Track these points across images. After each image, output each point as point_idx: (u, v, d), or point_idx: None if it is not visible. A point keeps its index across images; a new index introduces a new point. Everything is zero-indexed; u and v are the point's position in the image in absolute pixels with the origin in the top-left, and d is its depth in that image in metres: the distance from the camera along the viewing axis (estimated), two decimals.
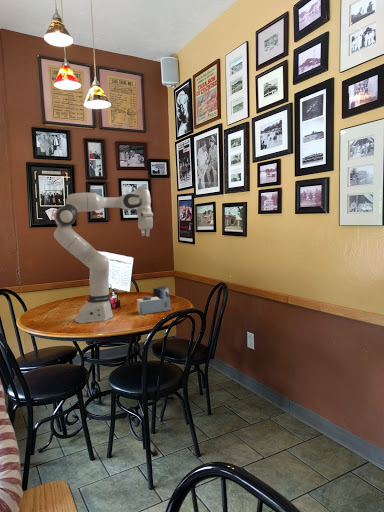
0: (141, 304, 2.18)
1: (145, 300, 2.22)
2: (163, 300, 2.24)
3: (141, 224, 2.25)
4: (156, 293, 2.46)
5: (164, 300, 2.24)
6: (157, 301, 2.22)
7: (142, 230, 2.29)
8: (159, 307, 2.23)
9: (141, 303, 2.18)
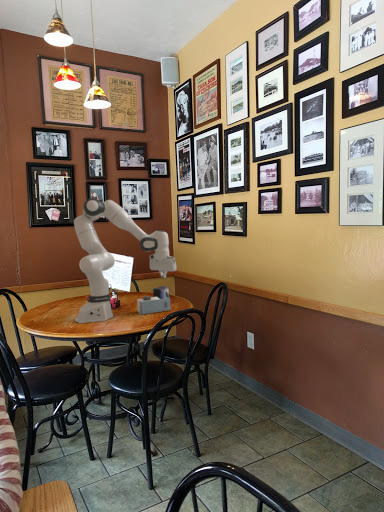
0: (141, 304, 2.18)
1: (145, 300, 2.22)
2: (163, 300, 2.24)
3: None
4: (156, 293, 2.46)
5: (164, 300, 2.24)
6: (157, 301, 2.22)
7: None
8: (159, 307, 2.23)
9: (141, 303, 2.18)
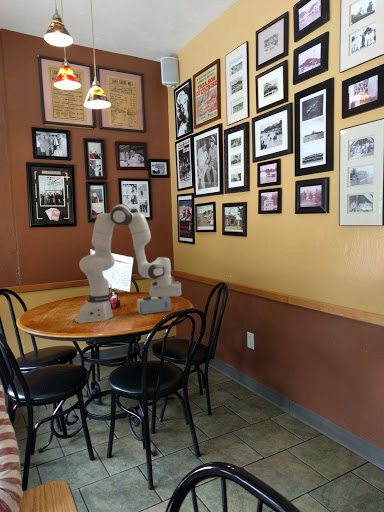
0: (141, 304, 2.18)
1: (145, 300, 2.22)
2: (163, 300, 2.23)
3: None
4: None
5: (164, 300, 2.23)
6: (157, 301, 2.22)
7: (167, 297, 2.27)
8: (159, 307, 2.23)
9: (141, 303, 2.18)
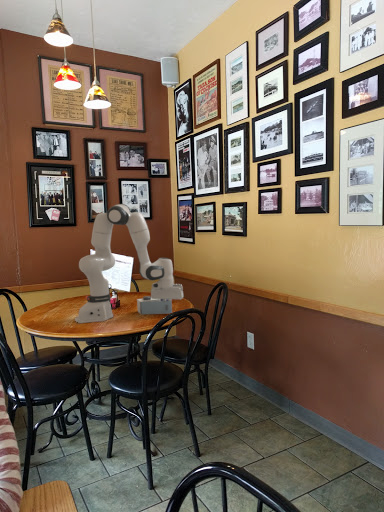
0: (141, 304, 2.18)
1: (145, 300, 2.22)
2: (164, 302, 2.17)
3: None
4: None
5: (165, 303, 2.17)
6: (157, 303, 2.17)
7: None
8: (159, 309, 2.18)
9: (141, 303, 2.18)
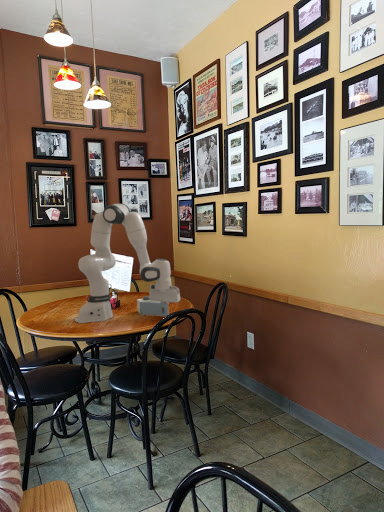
0: (140, 304, 2.18)
1: (145, 300, 2.22)
2: (161, 305, 2.12)
3: None
4: None
5: (162, 305, 2.12)
6: (155, 304, 2.14)
7: None
8: (157, 311, 2.14)
9: (140, 303, 2.18)
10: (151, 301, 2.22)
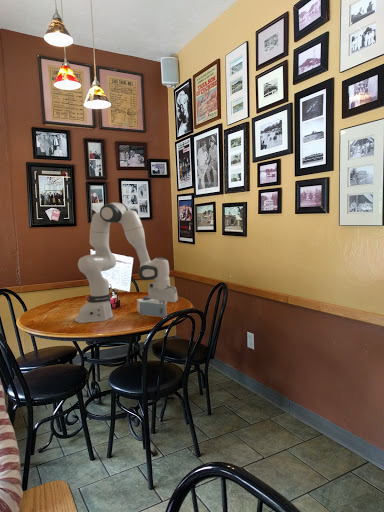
0: (140, 304, 2.18)
1: (145, 300, 2.22)
2: (159, 305, 2.10)
3: None
4: None
5: (160, 305, 2.10)
6: (154, 305, 2.13)
7: None
8: (155, 312, 2.12)
9: (140, 303, 2.18)
10: (151, 301, 2.22)
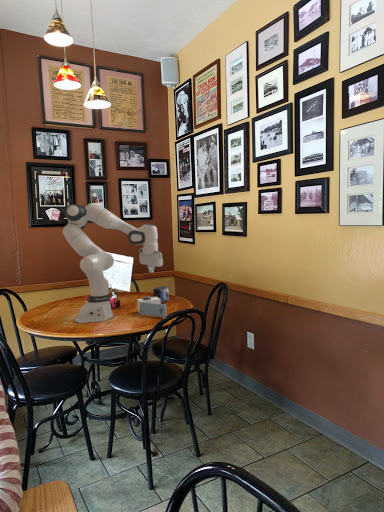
0: (140, 304, 2.18)
1: (145, 300, 2.22)
2: (159, 305, 2.10)
3: None
4: (156, 293, 2.46)
5: (160, 305, 2.10)
6: (154, 305, 2.13)
7: None
8: (155, 312, 2.12)
9: (140, 303, 2.18)
10: (151, 301, 2.22)
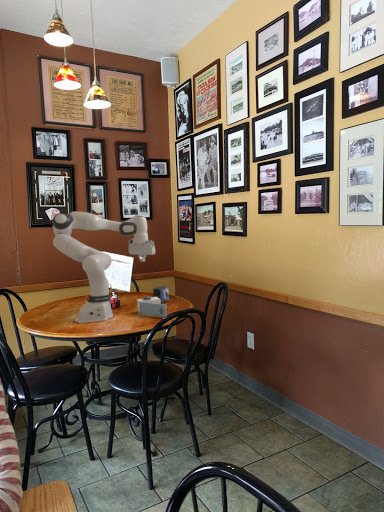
0: (140, 304, 2.18)
1: (145, 300, 2.22)
2: (159, 305, 2.10)
3: None
4: (156, 293, 2.46)
5: (160, 305, 2.10)
6: (154, 305, 2.13)
7: None
8: (155, 312, 2.12)
9: (140, 303, 2.18)
10: (151, 301, 2.22)
